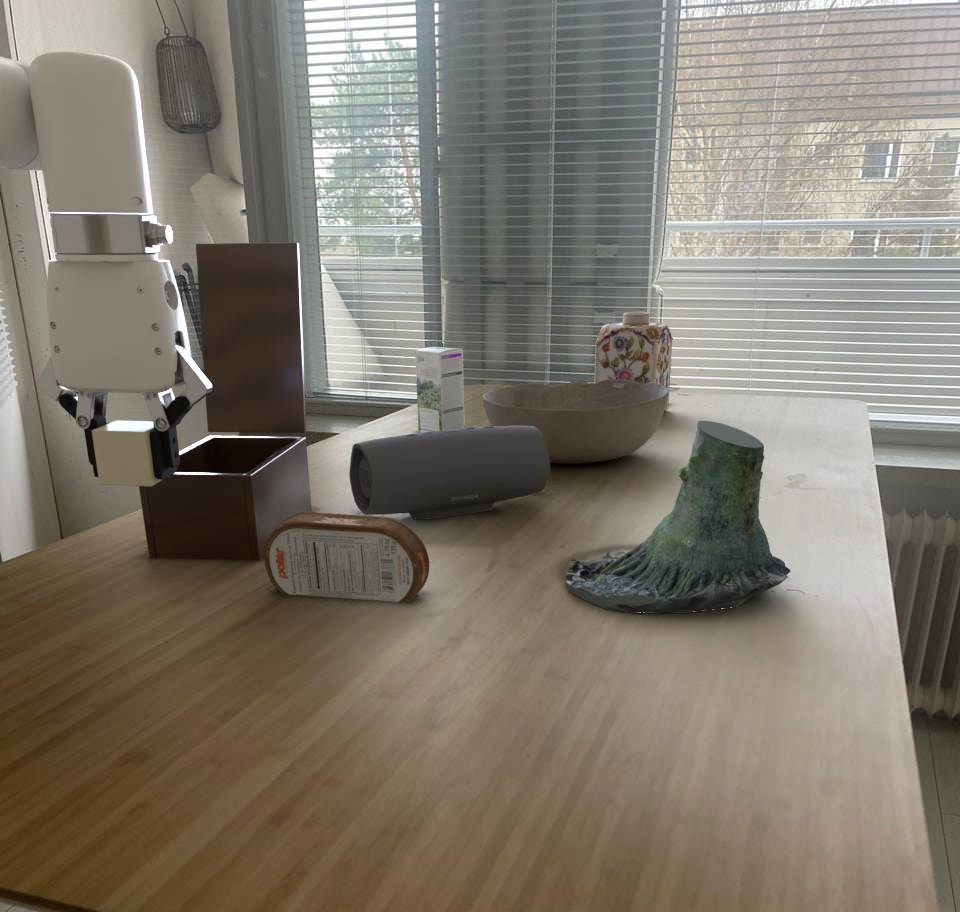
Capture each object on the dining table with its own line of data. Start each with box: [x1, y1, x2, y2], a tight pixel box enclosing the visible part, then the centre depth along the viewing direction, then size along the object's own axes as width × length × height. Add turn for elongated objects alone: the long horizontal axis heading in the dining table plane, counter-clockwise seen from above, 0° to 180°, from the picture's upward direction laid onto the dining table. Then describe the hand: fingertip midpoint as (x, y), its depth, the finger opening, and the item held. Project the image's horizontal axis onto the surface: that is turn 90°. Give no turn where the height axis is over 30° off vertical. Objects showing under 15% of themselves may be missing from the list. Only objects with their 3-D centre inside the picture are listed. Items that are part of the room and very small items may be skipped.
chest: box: [138, 435, 313, 561], centre depth 106 cm, size 20×12×10 cm, turn 174°
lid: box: [195, 242, 307, 434], centre depth 113 cm, size 20×12×5 cm
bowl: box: [481, 379, 670, 465], centre depth 146 cm, size 28×28×10 cm
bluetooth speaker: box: [348, 425, 551, 520], centre depth 117 cm, size 23×9×10 cm, turn 115°
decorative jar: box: [593, 311, 674, 412], centre depth 180 cm, size 12×12×18 cm
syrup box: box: [414, 346, 466, 433], centre depth 159 cm, size 6×6×14 cm
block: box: [92, 419, 162, 487], centre depth 81 cm, size 4×4×4 cm
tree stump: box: [565, 420, 792, 614], centre depth 90 cm, size 18×20×18 cm
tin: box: [263, 511, 430, 604], centre depth 87 cm, size 15×3×8 cm, turn 77°
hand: (136, 472), depth 82 cm, fingers closed on block, 4 cm apart
